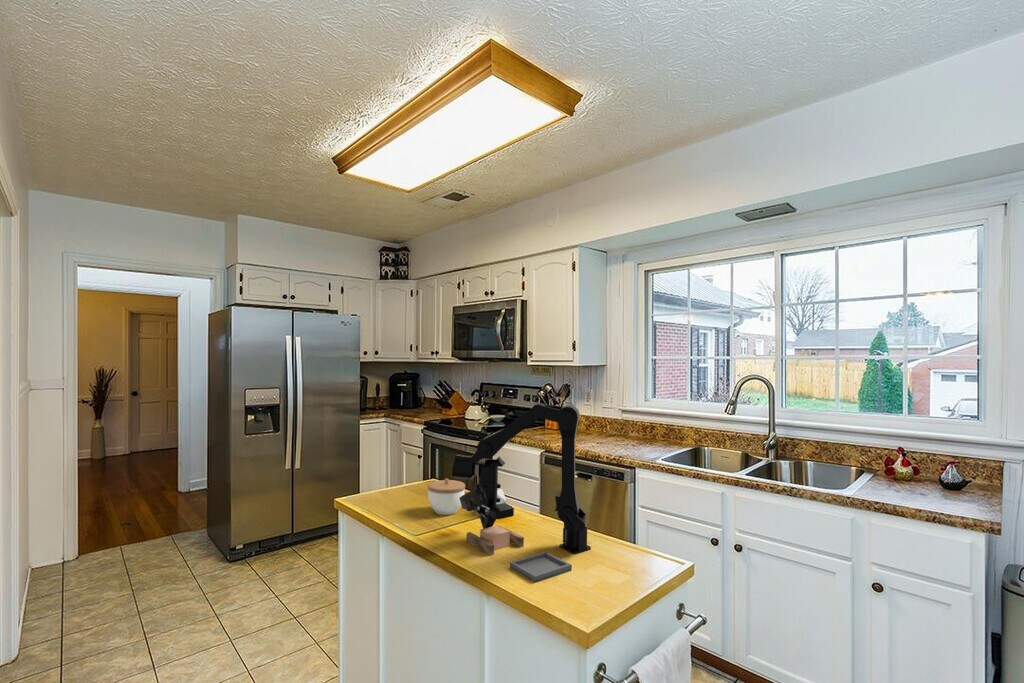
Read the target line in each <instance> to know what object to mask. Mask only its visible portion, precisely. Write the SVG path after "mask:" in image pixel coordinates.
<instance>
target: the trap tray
mask: <svg viewBox="0 0 1024 683" xmlns="http://www.w3.org/2000/svg"><path fill="white" fill-rule="evenodd" d="M509 568H510V569H511V570H512V571H514V572H517V574H520V575H522V576H523V577H525V578H527V579H528V580H530V581H532V582H533V583H538V582H541V581H544V580H547V579H549V578H552V577H555V576H556V577H557V576H559V575H561V574H564V573H565V574H566V573H569V572H570V571H572V568H573V567H572V564H571V563H569V562H567V561H565V560H563V559H561V558H559V557H558V556H555V555H553V554H552V553H549V552H547V551H543V552H540V553H537V554H532V555H530V556H527V557H526V556H525V557H523V558H519V559H516V560H513V561H510V562H509Z"/></svg>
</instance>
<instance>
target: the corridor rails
mask: <svg viewBox="0 0 1024 683" xmlns="http://www.w3.org/2000/svg"><path fill="white" fill-rule="evenodd" d="M497 526H499V527H501V528H504V529H506V530H508V531H510V543H511V544H513V545H515V546H517V547H519V548H523V547H524V546H525V544H524V543H525V537H524V536H522V535H520V534H517V533H516V532H514V531H511V530H510V529H508V528H506V527H503V526H501V525H497ZM466 543H468V544H470V545H471V546H473V547H475V548H477V549H478V550H480V551H482V552H483V553H486V554H487V555H489V556H493V555H495V550H494V545H493V544H491V543H489V542H488V541H486V540H484V539H482V538H480V535H479V536H478V535H477V534H474V533H473V532H471V531H468V532H466Z"/></svg>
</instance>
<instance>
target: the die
mask: <svg viewBox="0 0 1024 683" xmlns="http://www.w3.org/2000/svg"><path fill="white" fill-rule="evenodd" d="M497 497H498V498H500V502H498V503H496V504H502V503H506V504H507V499H506V496H505V493H504V490H503V489H502V488H498V489H497Z"/></svg>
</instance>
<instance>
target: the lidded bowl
mask: <svg viewBox="0 0 1024 683" xmlns="http://www.w3.org/2000/svg"><path fill="white" fill-rule="evenodd" d="M465 489H466V484H465V483H464V482H462V481H459V480H453V479H452V480H451V479H449V478H444V479H441V480H435V481H432V482H429V483H428V484H427V497H428V498H427V499H428V502H429V505H430V507H431V508H432V509H433V510H434V512H435V513H436V514H437V515H440V516H442V515H444V516H450V515H454V514H456V513H457V511H458V510H459V509H460V508H462V506H461V502H460V499H459V498H460V497H461V496H463V495H464V494H465V493H466V492H465Z"/></svg>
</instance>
